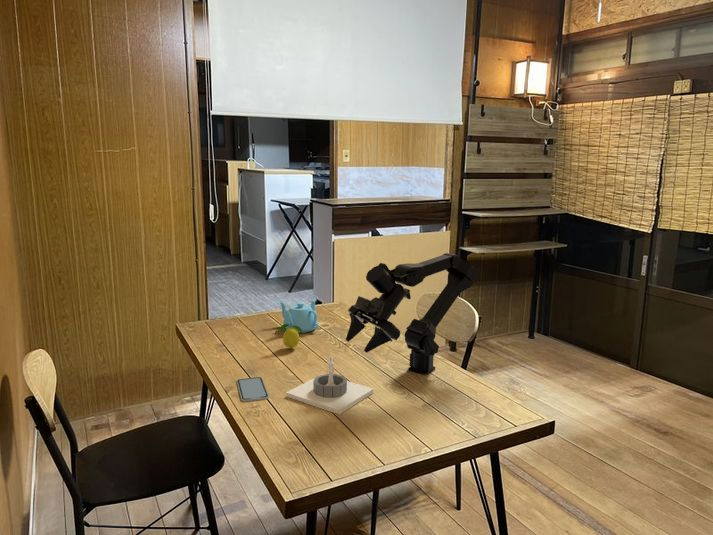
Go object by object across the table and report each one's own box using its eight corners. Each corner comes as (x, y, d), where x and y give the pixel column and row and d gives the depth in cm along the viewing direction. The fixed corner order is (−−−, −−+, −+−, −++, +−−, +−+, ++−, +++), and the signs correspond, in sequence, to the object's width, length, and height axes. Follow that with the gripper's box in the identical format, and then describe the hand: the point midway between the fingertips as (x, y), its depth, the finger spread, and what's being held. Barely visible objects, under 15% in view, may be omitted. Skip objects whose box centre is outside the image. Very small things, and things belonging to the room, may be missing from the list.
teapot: (322, 334, 199) (322, 307, 197) (281, 336, 196) (281, 309, 194) (316, 322, 213) (316, 297, 211) (278, 324, 210) (278, 299, 208)
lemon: (278, 351, 180) (278, 322, 178) (284, 345, 186) (284, 317, 184) (297, 352, 179) (296, 324, 177) (303, 347, 184) (302, 319, 182)
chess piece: (325, 385, 150) (325, 351, 148) (342, 387, 149) (342, 353, 147) (319, 392, 145) (319, 357, 143) (336, 395, 144) (336, 359, 142)
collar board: (373, 392, 148) (373, 378, 148) (339, 414, 136) (339, 399, 135) (322, 377, 158) (322, 364, 158) (286, 396, 146) (286, 382, 145)
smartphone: (261, 376, 158) (269, 396, 144) (261, 379, 158) (269, 399, 144) (236, 379, 156) (241, 400, 142) (236, 382, 156) (241, 403, 142)
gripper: (353, 278, 155) (321, 320, 152) (393, 294, 140) (357, 342, 137) (375, 299, 162) (344, 340, 158) (414, 317, 147) (381, 363, 143)
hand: (355, 346), depth 149 cm, fingers open, 9 cm apart
